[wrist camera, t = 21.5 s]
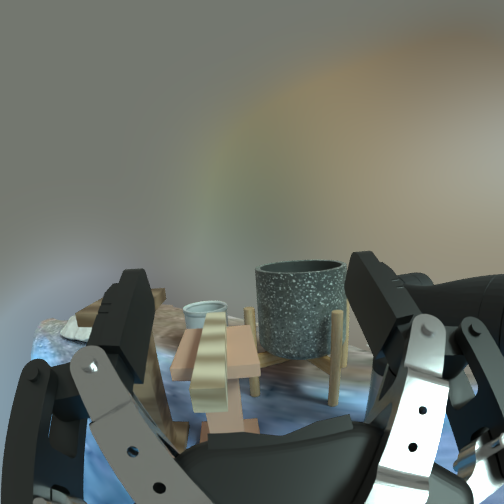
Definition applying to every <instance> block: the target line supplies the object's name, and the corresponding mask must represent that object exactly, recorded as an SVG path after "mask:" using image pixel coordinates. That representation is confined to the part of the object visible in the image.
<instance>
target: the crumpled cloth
mask: <svg viewBox="0 0 504 504" xmlns="http://www.w3.org/2000/svg"><path fill="white" fill-rule="evenodd" d="M91 330H92V327H78V325H77V320H76V315H74V316H71V317H70V319H69V321H68V322H67V324H66V325H65V327H64V328H63V329H62V330H61V332H60V333H61V335H62V336H64V337H66V338H68V339H75V340H80V341H84V342H88V339H89V336H90V333H91Z"/></svg>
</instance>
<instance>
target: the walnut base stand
mask: <svg viewBox="0 0 504 504" xmlns="http://www.w3.org/2000/svg"><path fill="white" fill-rule="evenodd" d="M151 291H152V294H153V297H154V301H155V311H156V310H157V309H158V307H159V306H160V305H161V304H162V303H163V302H164V301H165V300H166V294H165V288H159V289H151ZM102 299H103V298H101V299H100V300H98V301H96V302H94V303H93V304H91V305H89V306H87V307H85V308H84V309H82V310H80V311H78V312H77V313H75V315H76V320H77V325H78V327H93V324H94V321H95V318H96V315H97V314H98V310H99V307H100V306H101V302H102ZM133 392H134V393H135V394H136V396H137V397H138V399H139V400H140V402H141V403H142V405H143V406H144V408H145V409H146V411H147V412H148V414H149V415H150V416H151V418H152V419H153V421H154V422H155V423H156V425H157V426H158V427H159V429H160V430H161V431H162V432H163V434H164V435H165V436H166V437H167V438H168V439H169V441H170V442H171V443H172V444H173V445H174V447H175V448H176V449H177V450H178V451H179V453H182V452H183V451H185V450H186V447H187V441H188V434H189V428H190V426H189V422H173V421H172V417H171V414H170V410H169V406H168V402H167V398H166V394H165V390H164V386H163V381H162V377H161V372H160V368H159V363H158V358H157V353H156V348H155V342H154V337H153V331H152V332H151V337H150V343H149V350H148V356H147V363H146V370H145V377H144V384H134V385H133Z"/></svg>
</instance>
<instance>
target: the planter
mask: <svg viewBox="0 0 504 504" xmlns="http://www.w3.org/2000/svg"><path fill="white" fill-rule="evenodd" d="M346 267H347V266H346V263H344V262H341V261H334V260H296V261H284V262H276V263H269V264H264V265H261V266H258V267H256V268H255V273H256V274H255V275H256V290H257V305H258V322H259V338H260V344H261V346H262V347H263V348H264V349H265V350H266V352H262V353H257V354H258V358H259V362H260V368H263V367H267V366H271V365H274V364H278V363H283V362H285V361H289V360H293V359H295V360H305V359H306V360H308V361H309V362H311V363H312V364H314V365H315V366H317V367H318V368H320V369H321V370H322V371H324V372H325V373H327V374H329V375H330V377H329V393H328V405H329V406H331V407H334V406H337V405H338V398H339V387H340V375H341V368H345V367H346V366H347V356H348V337H349V336H348V335H349V301H348V299H347V297H346V295H345V290H344V283H345V278H346V274H347V268H346ZM244 322H245V325H250V326H251V330H252V334H253V338H254V342H255V346H256V350H257V339H256V324H255V309H254V307H246V308H244ZM329 354H331V357H328V356H327V355H329ZM249 383H250V395H251V396H252V397H258V396H259V395H260V384H259V377H249Z"/></svg>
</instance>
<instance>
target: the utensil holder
mask: <svg viewBox="0 0 504 504" xmlns="http://www.w3.org/2000/svg"><path fill="white" fill-rule="evenodd" d="M183 312H184V314H185V321H186V327H187V329H197V328H203V326H204V322H205V318H206V314H207V313H212V312H225V313H226V324H227V327H228V317H227V304H226V303H225V302H222V301H202V302H197V303H192V304H189V305H187V306H185V307H184V308H183Z"/></svg>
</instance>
